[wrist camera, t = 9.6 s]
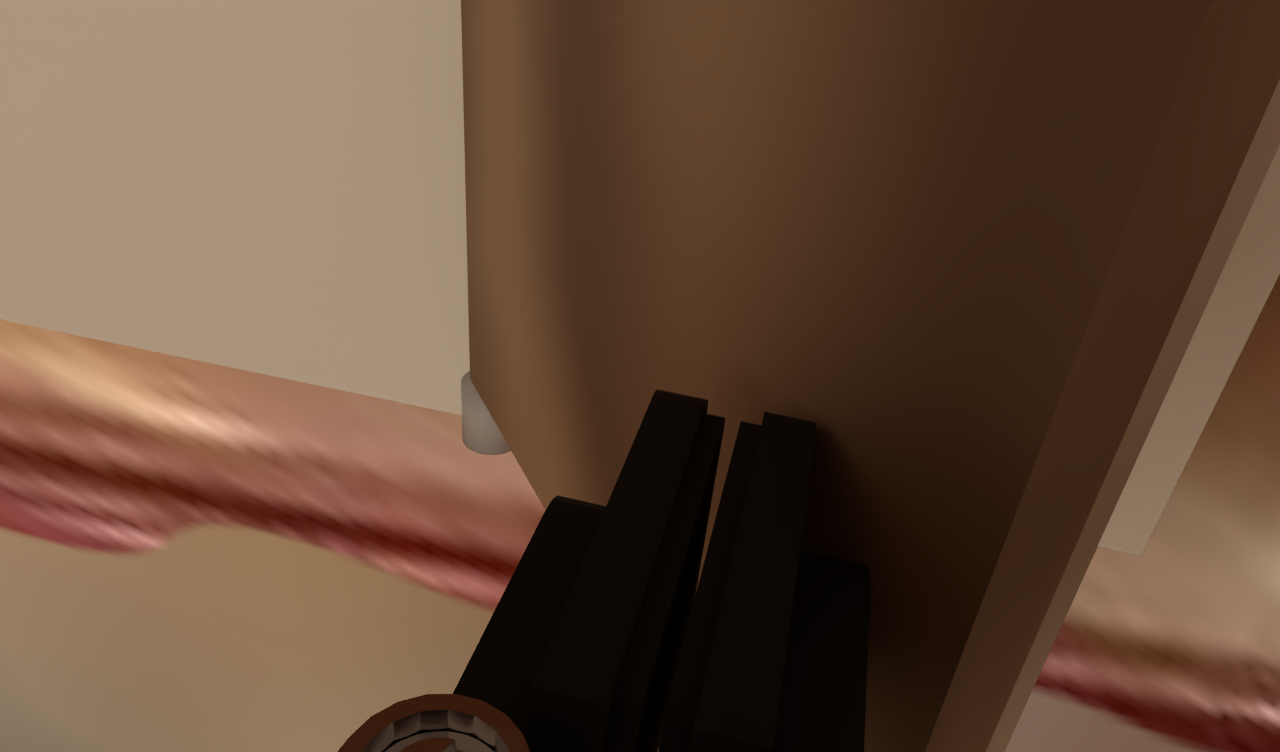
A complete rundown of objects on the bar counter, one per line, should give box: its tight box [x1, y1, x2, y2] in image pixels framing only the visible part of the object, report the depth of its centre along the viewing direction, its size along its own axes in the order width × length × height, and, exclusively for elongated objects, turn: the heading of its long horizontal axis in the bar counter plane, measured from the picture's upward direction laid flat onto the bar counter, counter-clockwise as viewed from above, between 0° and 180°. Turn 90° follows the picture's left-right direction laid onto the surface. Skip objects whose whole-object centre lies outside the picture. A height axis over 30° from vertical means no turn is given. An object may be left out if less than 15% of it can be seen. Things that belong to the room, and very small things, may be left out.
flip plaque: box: [461, 0, 1280, 752], centre depth 13 cm, size 14×12×1 cm
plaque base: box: [0, 0, 1280, 556], centre depth 19 cm, size 30×16×2 cm, turn 85°
